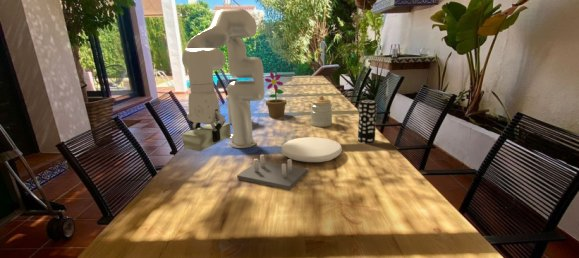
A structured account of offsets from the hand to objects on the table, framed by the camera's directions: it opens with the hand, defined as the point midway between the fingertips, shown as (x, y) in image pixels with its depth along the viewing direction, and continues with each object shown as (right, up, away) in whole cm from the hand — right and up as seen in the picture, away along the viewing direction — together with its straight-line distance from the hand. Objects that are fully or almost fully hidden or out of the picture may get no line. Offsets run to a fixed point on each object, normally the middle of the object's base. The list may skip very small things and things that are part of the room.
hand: (208, 139), depth 105 cm
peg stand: (+22, -14, +11) cm, 29 cm away
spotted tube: (+67, -3, +48) cm, 82 cm away
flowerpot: (+19, +12, +103) cm, 105 cm away
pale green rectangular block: (0, -1, 0) cm, 1 cm away
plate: (+38, -8, +32) cm, 50 cm away
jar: (+48, +6, +80) cm, 93 cm away
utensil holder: (-3, +8, +89) cm, 90 cm away
